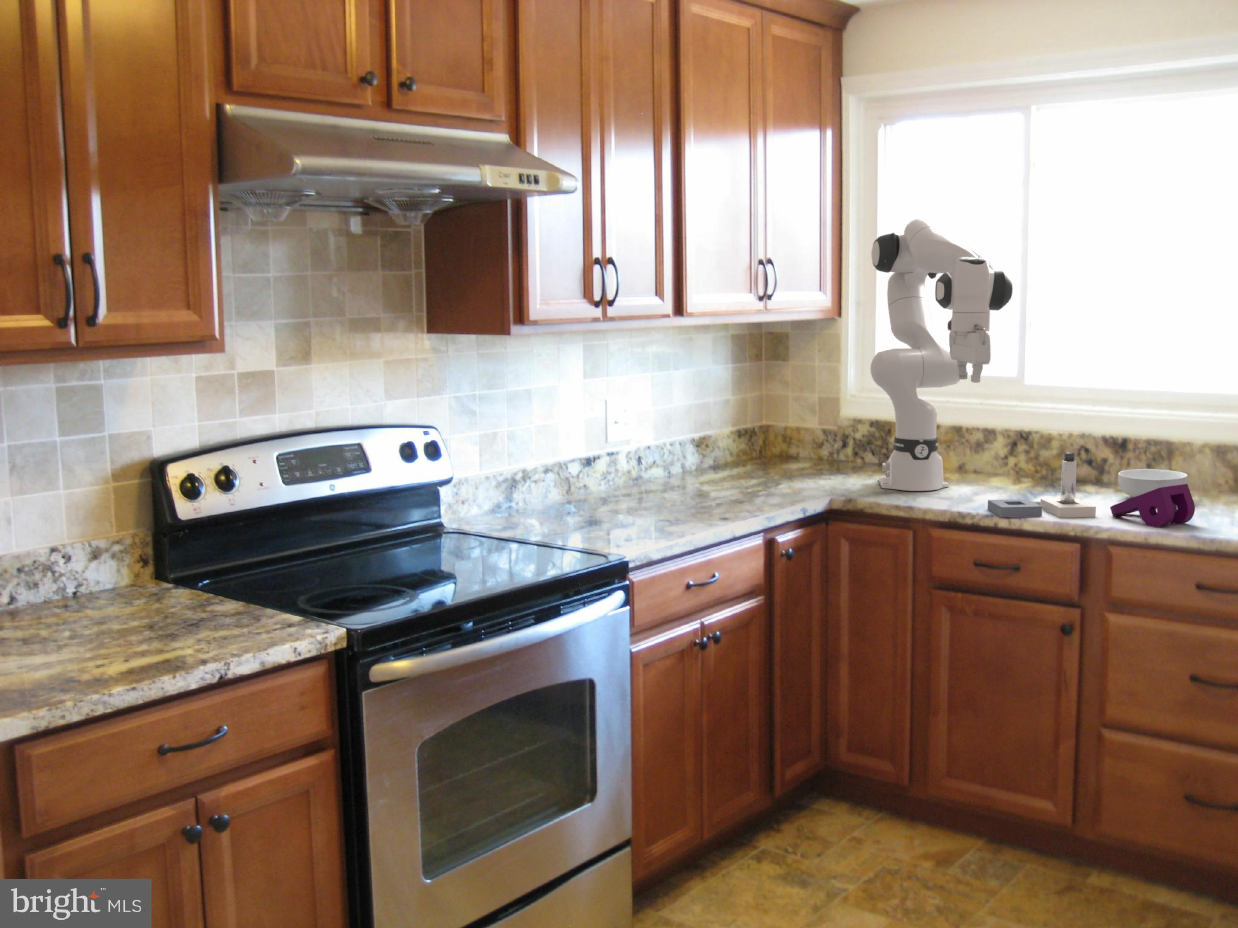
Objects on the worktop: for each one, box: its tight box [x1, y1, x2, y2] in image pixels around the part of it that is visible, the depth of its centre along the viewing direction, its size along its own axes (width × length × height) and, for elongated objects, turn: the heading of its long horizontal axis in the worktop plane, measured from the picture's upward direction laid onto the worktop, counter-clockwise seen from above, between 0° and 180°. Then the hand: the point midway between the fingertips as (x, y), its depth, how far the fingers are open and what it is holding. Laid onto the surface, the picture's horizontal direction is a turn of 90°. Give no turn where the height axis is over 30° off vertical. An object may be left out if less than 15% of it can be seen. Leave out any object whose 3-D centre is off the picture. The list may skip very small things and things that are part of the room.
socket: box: [987, 498, 1043, 518], centre depth 301 cm, size 10×10×2 cm
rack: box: [1039, 497, 1097, 519], centre depth 300 cm, size 12×9×2 cm
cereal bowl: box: [1117, 468, 1189, 498], centre depth 315 cm, size 17×17×7 cm
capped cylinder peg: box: [1060, 451, 1077, 504], centre depth 299 cm, size 3×3×15 cm
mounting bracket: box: [1109, 483, 1196, 528], centre depth 289 cm, size 9×8×18 cm
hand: (969, 380), depth 297 cm, fingers open, 8 cm apart
